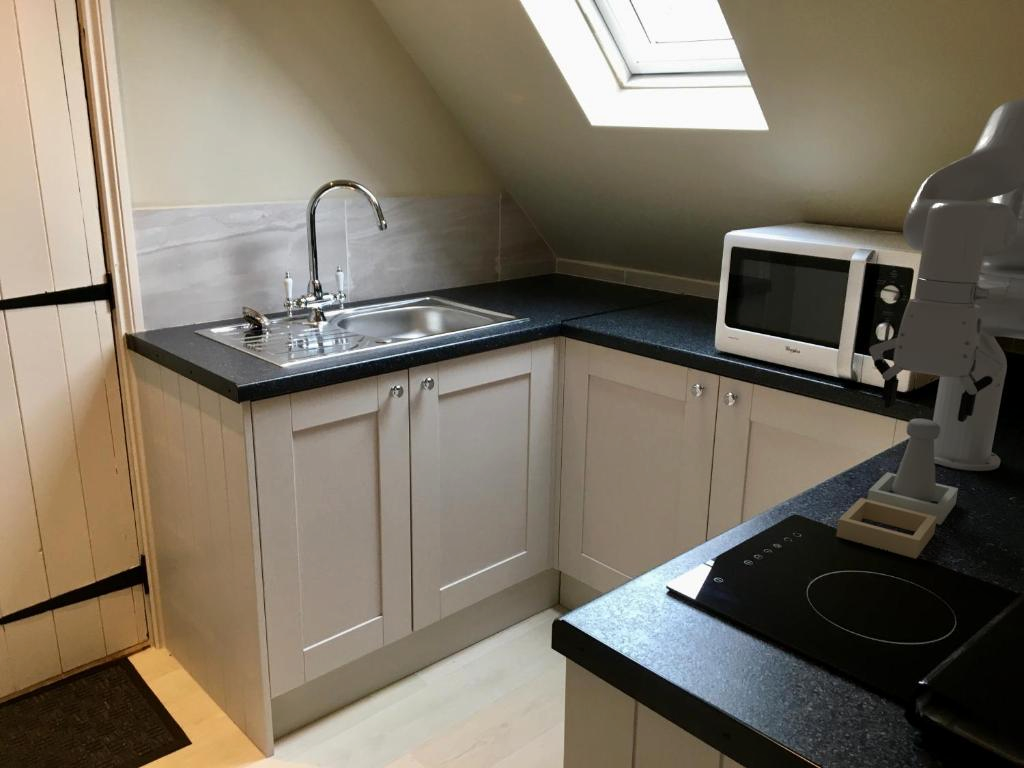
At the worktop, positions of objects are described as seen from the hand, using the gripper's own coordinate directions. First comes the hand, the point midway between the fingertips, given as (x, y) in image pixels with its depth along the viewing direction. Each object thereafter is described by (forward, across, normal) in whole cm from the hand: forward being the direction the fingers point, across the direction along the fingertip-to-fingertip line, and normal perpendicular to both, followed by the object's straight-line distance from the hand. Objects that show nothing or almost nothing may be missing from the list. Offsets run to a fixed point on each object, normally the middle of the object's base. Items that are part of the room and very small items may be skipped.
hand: (925, 412), depth 121 cm
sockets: (+14, 0, +6) cm, 16 cm away
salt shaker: (+14, 0, -1) cm, 15 cm away
